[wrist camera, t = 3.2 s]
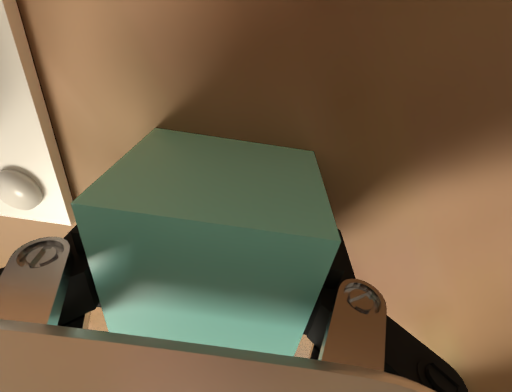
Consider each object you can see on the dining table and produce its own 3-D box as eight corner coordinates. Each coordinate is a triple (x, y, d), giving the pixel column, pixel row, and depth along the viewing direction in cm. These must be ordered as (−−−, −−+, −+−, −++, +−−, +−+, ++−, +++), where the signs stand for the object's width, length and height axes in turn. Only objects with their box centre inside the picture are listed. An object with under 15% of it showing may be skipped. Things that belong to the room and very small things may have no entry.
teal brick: (313, 151, 10) (341, 241, 6) (283, 261, 13) (287, 369, 9) (155, 127, 10) (70, 203, 6) (164, 244, 13) (113, 347, 9)
